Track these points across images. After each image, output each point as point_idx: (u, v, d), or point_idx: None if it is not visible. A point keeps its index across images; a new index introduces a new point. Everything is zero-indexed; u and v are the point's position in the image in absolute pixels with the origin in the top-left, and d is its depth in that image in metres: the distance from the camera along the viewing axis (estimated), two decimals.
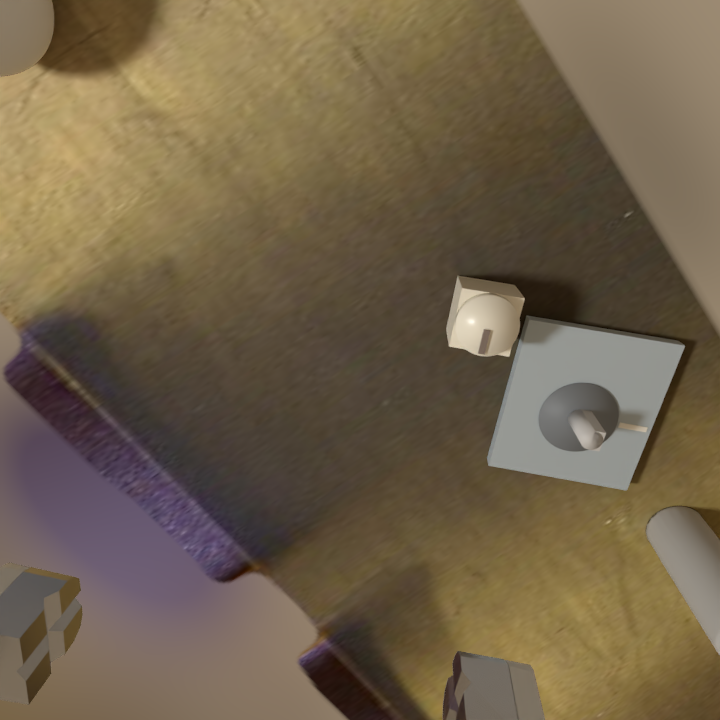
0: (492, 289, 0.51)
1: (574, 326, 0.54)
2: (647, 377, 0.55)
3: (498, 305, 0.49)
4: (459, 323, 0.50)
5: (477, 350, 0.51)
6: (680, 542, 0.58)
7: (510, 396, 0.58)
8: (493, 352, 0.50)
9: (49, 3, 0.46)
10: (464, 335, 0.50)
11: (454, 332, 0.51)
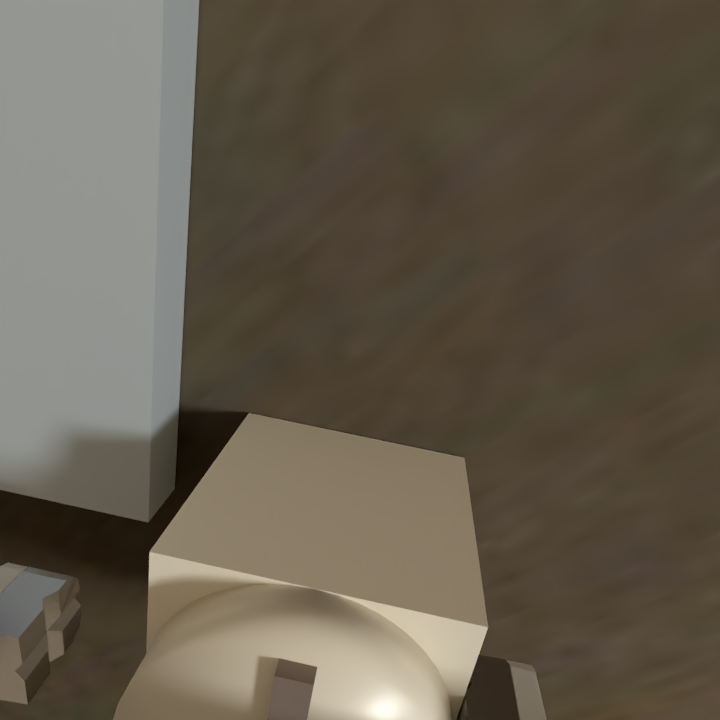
0: None
1: None
2: None
3: None
4: None
5: (321, 678, 0.08)
6: None
7: (146, 175, 0.11)
8: (224, 658, 0.08)
9: None
10: None
11: (454, 686, 0.09)
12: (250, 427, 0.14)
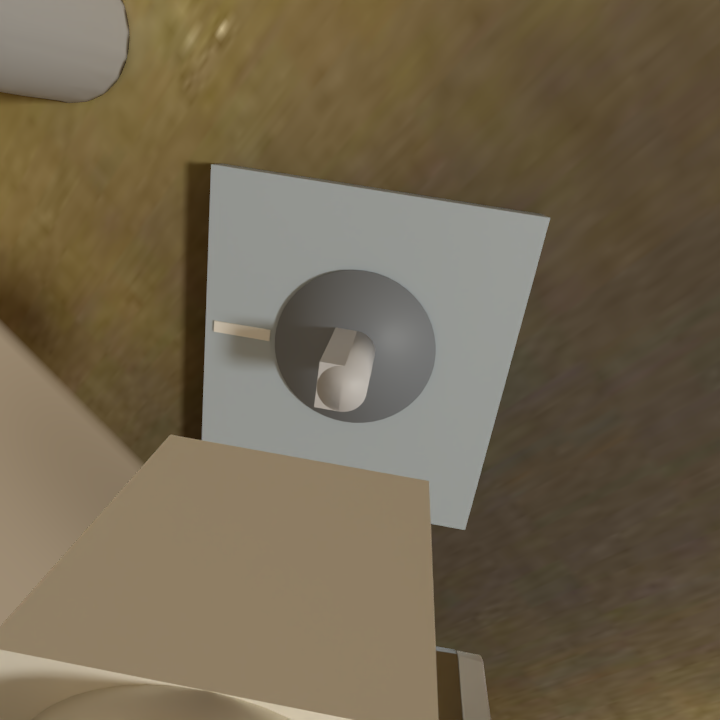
0: None
1: None
2: (243, 429, 0.30)
3: None
4: None
5: None
6: (40, 62, 0.20)
7: (496, 394, 0.27)
8: None
9: None
10: None
11: None
12: (168, 454, 0.11)
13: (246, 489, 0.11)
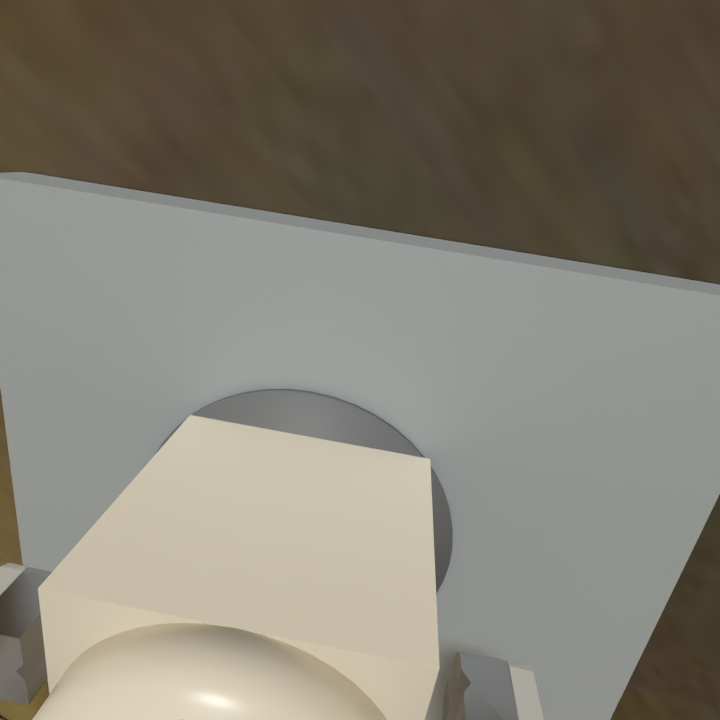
0: None
1: None
2: None
3: None
4: None
5: None
6: None
7: (380, 252, 0.11)
8: None
9: None
10: None
11: None
12: (189, 431, 0.12)
13: (262, 463, 0.11)
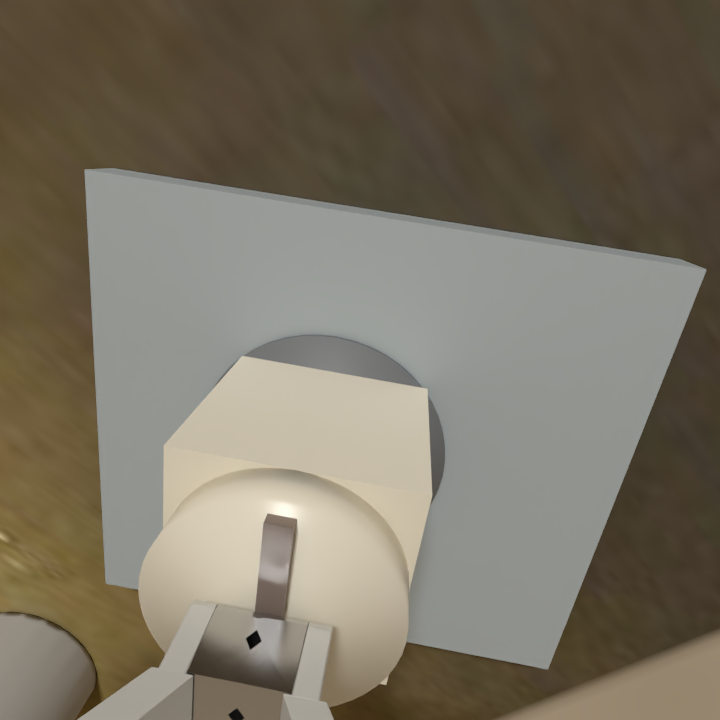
0: None
1: None
2: (458, 603, 0.20)
3: None
4: (392, 632, 0.11)
5: (300, 528, 0.10)
6: None
7: (390, 228, 0.15)
8: (225, 516, 0.11)
9: None
10: (366, 589, 0.11)
11: (409, 548, 0.12)
12: (244, 365, 0.16)
13: (301, 386, 0.15)
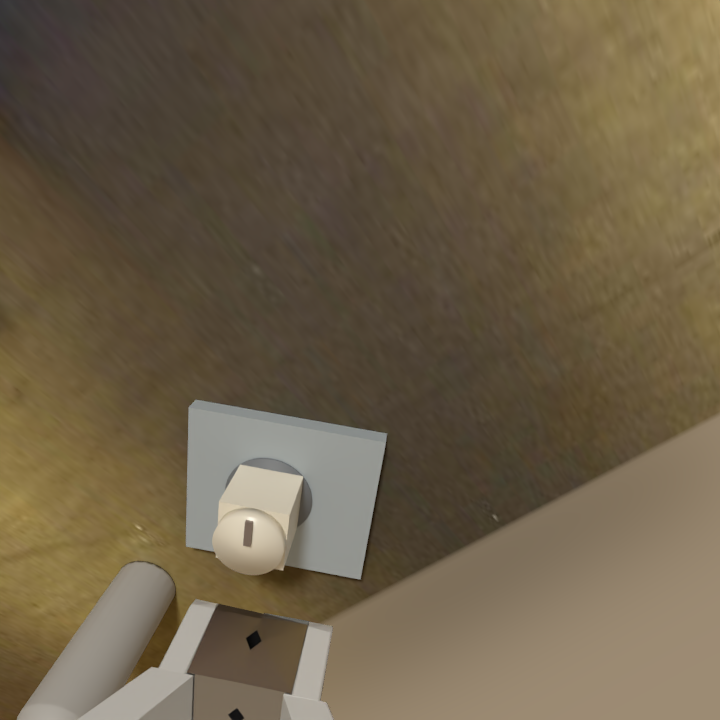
0: None
1: (377, 484, 0.48)
2: (323, 553, 0.52)
3: (239, 566, 0.44)
4: (279, 550, 0.43)
5: (254, 523, 0.42)
6: (139, 610, 0.52)
7: (287, 427, 0.47)
8: (235, 520, 0.42)
9: None
10: (271, 539, 0.43)
11: (285, 529, 0.44)
12: (240, 469, 0.48)
13: (259, 477, 0.47)
